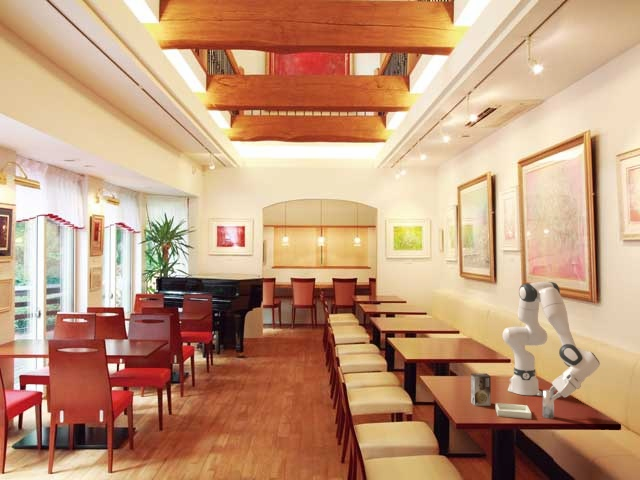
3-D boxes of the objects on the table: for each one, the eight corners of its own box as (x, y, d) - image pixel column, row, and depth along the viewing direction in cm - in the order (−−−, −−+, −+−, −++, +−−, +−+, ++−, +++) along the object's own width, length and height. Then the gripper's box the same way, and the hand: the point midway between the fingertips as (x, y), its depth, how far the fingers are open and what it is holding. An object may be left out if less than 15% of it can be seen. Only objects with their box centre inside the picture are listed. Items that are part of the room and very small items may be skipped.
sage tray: (495, 408, 270) (495, 402, 270) (527, 411, 266) (527, 405, 266) (497, 416, 257) (497, 410, 257) (531, 419, 253) (531, 413, 254)
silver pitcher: (535, 414, 261) (535, 389, 261) (552, 415, 259) (552, 390, 259) (537, 417, 256) (537, 391, 256) (554, 419, 254) (554, 393, 254)
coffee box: (486, 402, 281) (486, 373, 281) (491, 405, 274) (491, 376, 275) (470, 402, 280) (470, 373, 281) (474, 405, 274) (474, 376, 274)
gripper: (562, 368, 266) (542, 386, 268) (571, 378, 246) (549, 396, 248) (571, 377, 264) (551, 395, 267) (581, 388, 245) (559, 406, 247)
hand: (550, 396), depth 257 cm, fingers open, 8 cm apart
